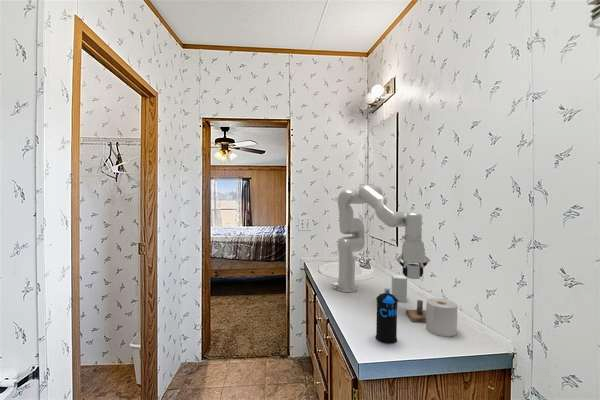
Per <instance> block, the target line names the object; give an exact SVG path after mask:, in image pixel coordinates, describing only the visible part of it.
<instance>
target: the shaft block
mask: <svg viewBox="0 0 600 400" xmlns="http://www.w3.org/2000/svg"><path fill="white" fill-rule="evenodd" d="M423 303H424V300H421V299H418V300H416V309H405V315H406V317H407V318H408V319H409V320H410V322H411V323H419V324H420V323H421V324H422V323H423V324H426V309H423V308H424V307H423V305H424V304H423Z"/></svg>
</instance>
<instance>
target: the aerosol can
mask: <svg viewBox="0 0 600 400" xmlns="http://www.w3.org/2000/svg"><path fill="white" fill-rule="evenodd" d="M390 291H391V289H390V287H384V292H382V293H379V295H377V296H376V323H375V324H376V326H375V327H376V331H375V332H376V333H375V334H376V335H375V339H376V340H377V341H378V342H381V343H384V344H394V343H396V342H397V341H398V338H397V336H398V335H397V334H398V333H397V330H398V329H397V328H398V327H397V326H398V303H399V302H398V299H397V298H396V297H395V296H394V295H392V294H391V292H390Z"/></svg>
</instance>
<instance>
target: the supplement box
mask: <svg viewBox="0 0 600 400" xmlns="http://www.w3.org/2000/svg"><path fill="white" fill-rule="evenodd" d="M390 294H392V295H394V296H395V297H396V298H397V299H398V302H397V303H407V301H408V299H407V298H408V278H406V277H405V276H404V274H402V275H401V274H391V292H390Z"/></svg>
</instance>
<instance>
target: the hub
mask: <svg viewBox="0 0 600 400" xmlns="http://www.w3.org/2000/svg"><path fill="white" fill-rule="evenodd" d="M406 268H407V276H405V277H406V278H407V279H411V280H419V279H421V265H419V263H408V264H407V266H406Z"/></svg>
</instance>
